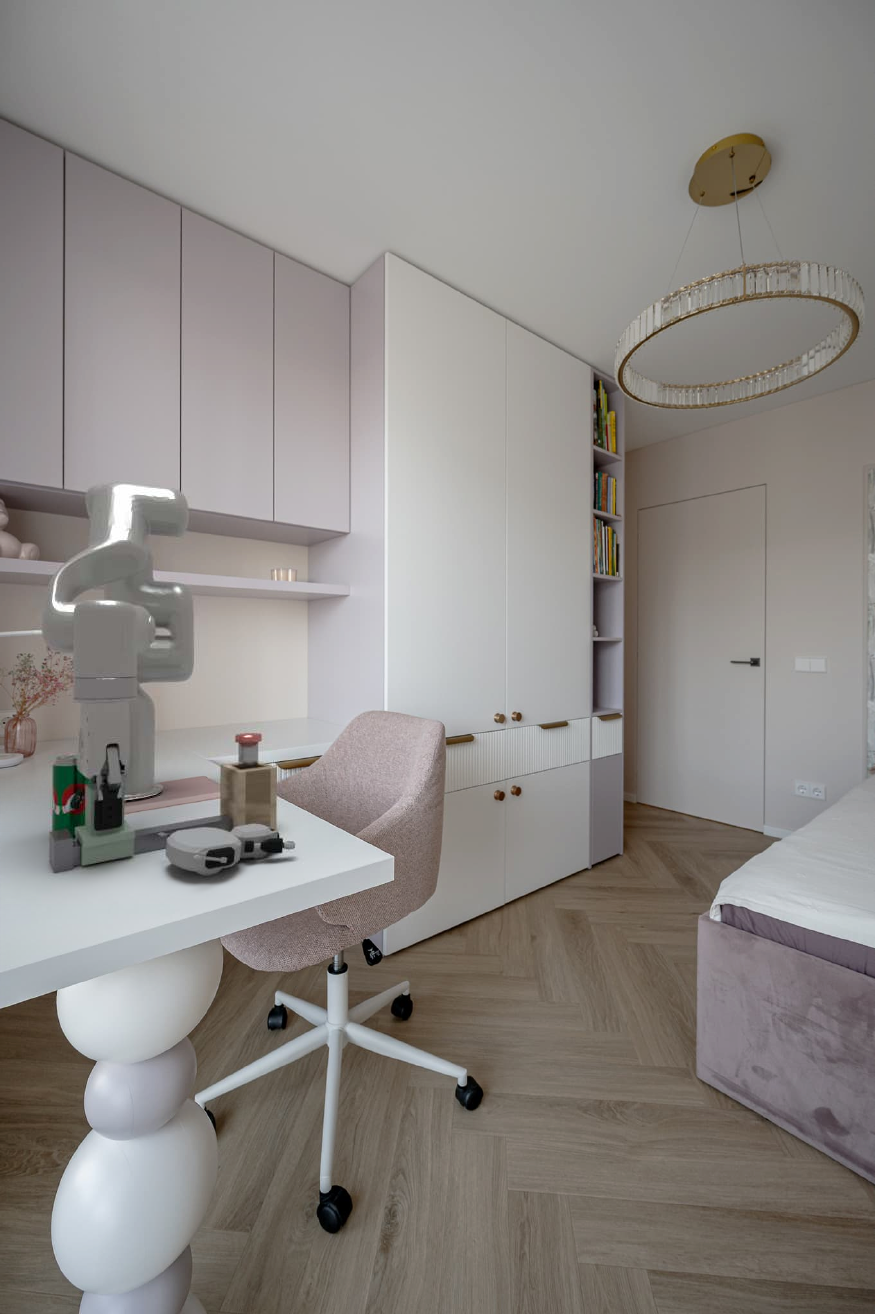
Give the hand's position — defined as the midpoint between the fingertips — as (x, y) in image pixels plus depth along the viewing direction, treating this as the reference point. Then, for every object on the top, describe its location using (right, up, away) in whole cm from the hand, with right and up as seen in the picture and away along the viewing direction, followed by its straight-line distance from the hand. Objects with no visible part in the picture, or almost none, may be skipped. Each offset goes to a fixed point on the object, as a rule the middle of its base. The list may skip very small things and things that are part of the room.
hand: (104, 823), depth 77 cm
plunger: (+15, +4, +13) cm, 20 cm away
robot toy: (+17, -5, -1) cm, 18 cm away
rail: (+5, -5, +4) cm, 8 cm away
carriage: (0, -4, 0) cm, 4 cm away
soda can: (-11, -5, +9) cm, 15 cm away
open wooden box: (+15, -5, +13) cm, 21 cm away
